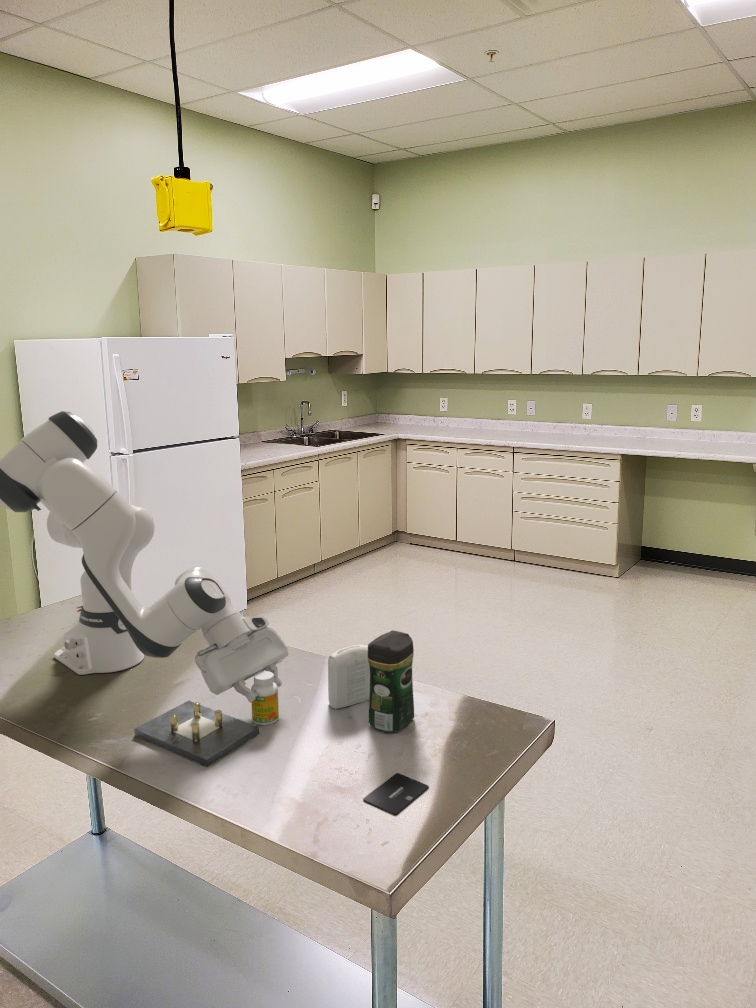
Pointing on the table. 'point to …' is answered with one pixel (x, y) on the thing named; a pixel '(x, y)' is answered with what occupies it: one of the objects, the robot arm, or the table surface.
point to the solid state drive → (396, 793)
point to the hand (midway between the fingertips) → (266, 693)
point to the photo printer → (348, 676)
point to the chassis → (197, 732)
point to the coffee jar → (391, 682)
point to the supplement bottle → (265, 699)
